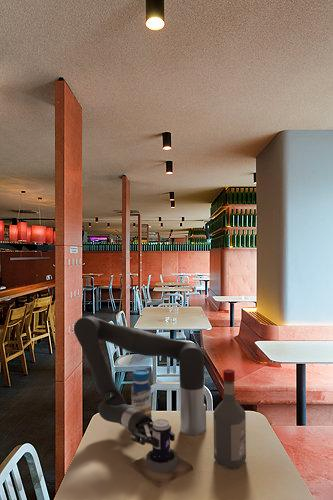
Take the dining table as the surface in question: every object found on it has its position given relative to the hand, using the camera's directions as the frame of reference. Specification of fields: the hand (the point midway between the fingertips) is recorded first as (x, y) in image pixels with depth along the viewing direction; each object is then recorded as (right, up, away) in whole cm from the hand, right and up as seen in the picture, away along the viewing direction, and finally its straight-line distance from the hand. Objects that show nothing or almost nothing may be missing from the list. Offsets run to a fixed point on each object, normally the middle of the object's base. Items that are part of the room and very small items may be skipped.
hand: (166, 441), depth 125 cm
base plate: (-1, -10, +2) cm, 10 cm away
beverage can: (-2, -7, +2) cm, 8 cm away
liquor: (+21, -10, +6) cm, 24 cm away
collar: (-1, -8, +2) cm, 9 cm away
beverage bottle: (-10, -10, +37) cm, 40 cm away
